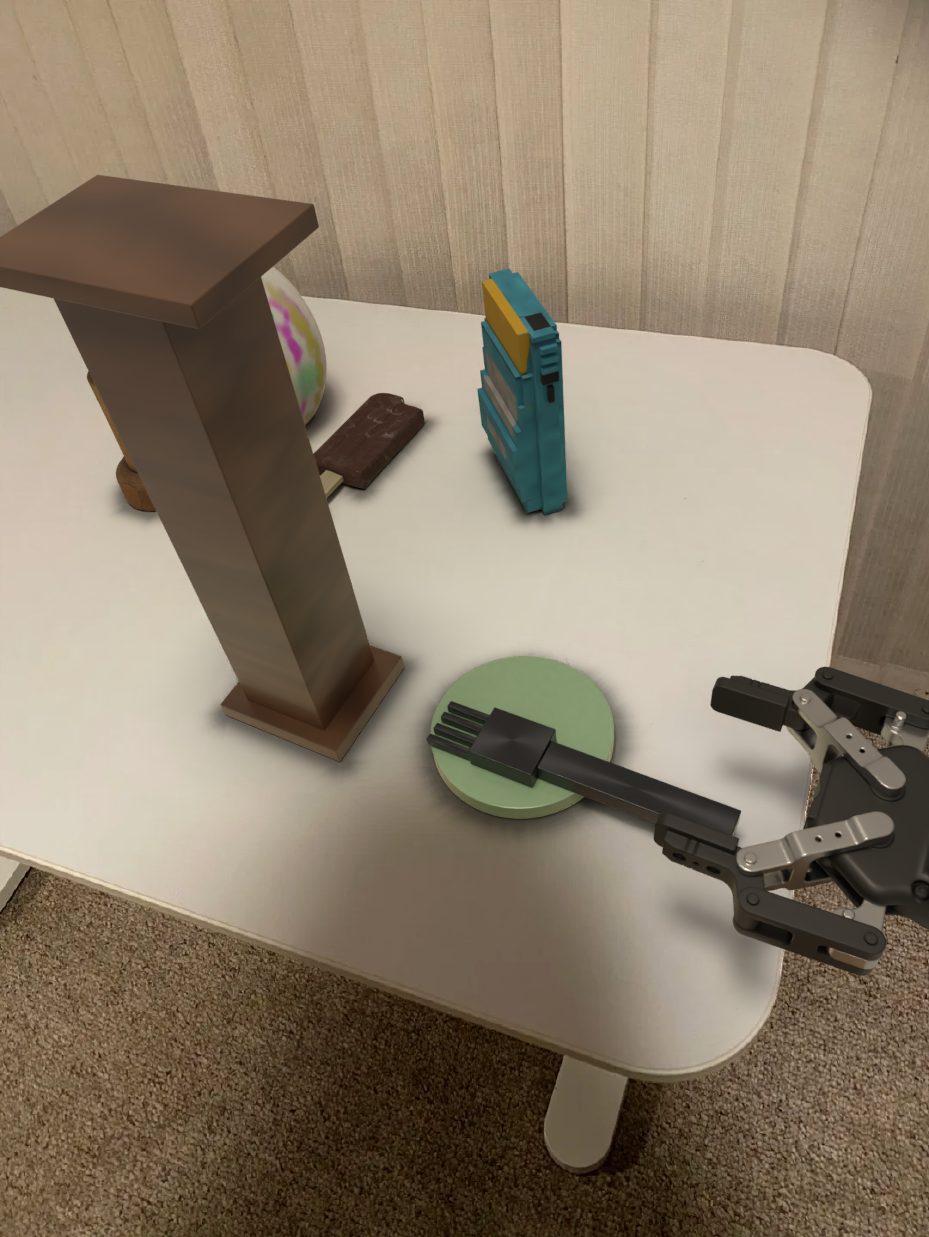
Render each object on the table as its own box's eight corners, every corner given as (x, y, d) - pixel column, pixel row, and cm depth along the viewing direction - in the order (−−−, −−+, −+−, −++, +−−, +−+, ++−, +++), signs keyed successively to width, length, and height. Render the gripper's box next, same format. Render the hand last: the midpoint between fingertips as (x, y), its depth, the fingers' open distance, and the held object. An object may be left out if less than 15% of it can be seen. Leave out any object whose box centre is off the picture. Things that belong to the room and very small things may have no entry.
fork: (723, 863, 48) (726, 850, 47) (426, 746, 55) (422, 733, 54) (742, 810, 50) (745, 797, 49) (452, 704, 57) (450, 690, 56)
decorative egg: (198, 471, 77) (130, 309, 66) (204, 388, 85) (144, 231, 74) (342, 444, 78) (299, 278, 66) (334, 364, 86) (294, 204, 75)
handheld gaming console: (574, 510, 69) (568, 332, 58) (522, 525, 69) (506, 349, 57) (530, 436, 75) (517, 263, 64) (482, 449, 75) (461, 278, 64)
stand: (360, 770, 56) (190, 305, 33) (207, 707, 60) (-37, 260, 37) (424, 674, 60) (314, 203, 37) (277, 622, 65) (97, 174, 42)
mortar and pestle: (175, 517, 74) (80, 313, 60) (109, 504, 76) (4, 304, 62) (218, 465, 78) (138, 263, 64) (154, 454, 80) (64, 255, 66)
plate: (570, 847, 51) (569, 837, 50) (400, 778, 55) (396, 767, 54) (640, 699, 57) (641, 687, 56) (482, 647, 61) (481, 635, 60)
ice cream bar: (328, 529, 71) (430, 418, 79) (323, 513, 69) (428, 402, 77) (275, 511, 73) (380, 404, 81) (269, 495, 72) (376, 388, 80)
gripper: (1101, 706, 41) (736, 606, 47) (1069, 1007, 33) (636, 839, 39) (1041, 794, 46) (722, 694, 53) (1002, 1068, 39) (632, 913, 45)
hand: (686, 756), depth 46 cm, fingers open, 8 cm apart
